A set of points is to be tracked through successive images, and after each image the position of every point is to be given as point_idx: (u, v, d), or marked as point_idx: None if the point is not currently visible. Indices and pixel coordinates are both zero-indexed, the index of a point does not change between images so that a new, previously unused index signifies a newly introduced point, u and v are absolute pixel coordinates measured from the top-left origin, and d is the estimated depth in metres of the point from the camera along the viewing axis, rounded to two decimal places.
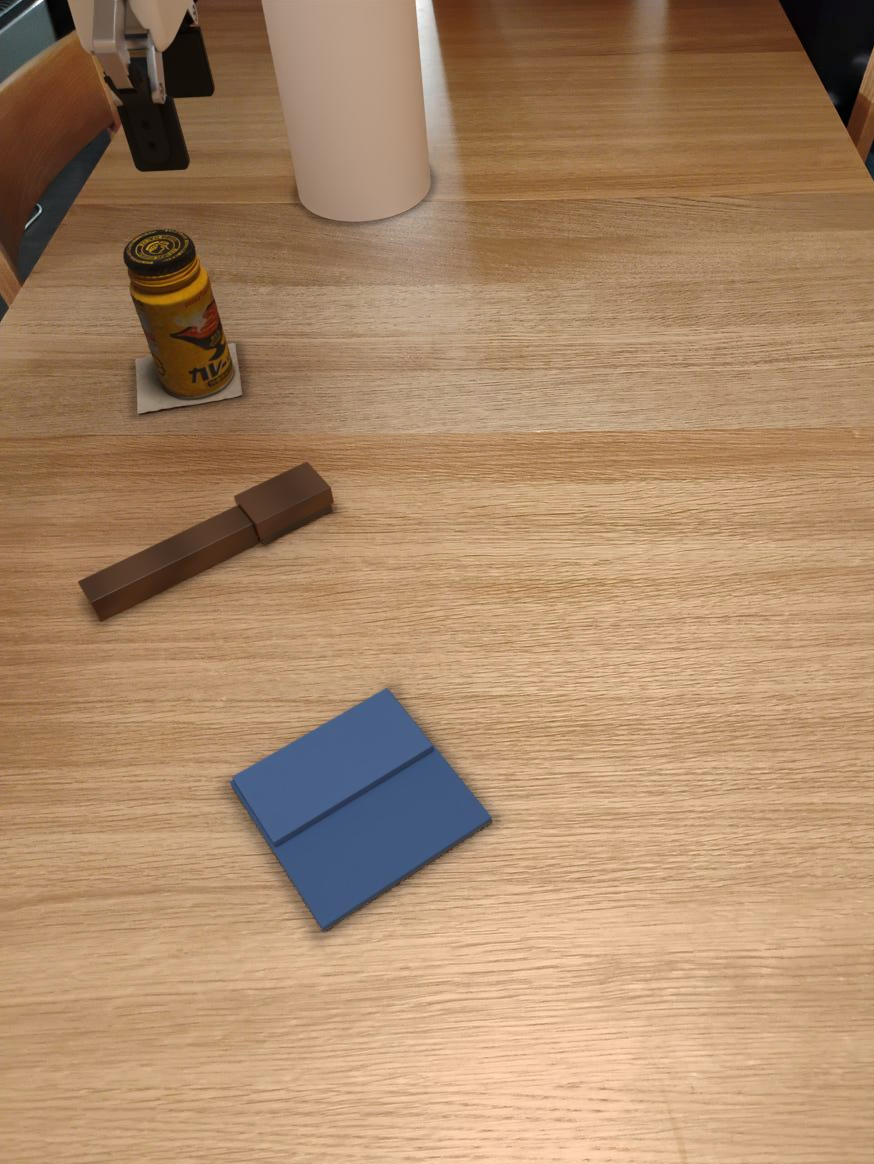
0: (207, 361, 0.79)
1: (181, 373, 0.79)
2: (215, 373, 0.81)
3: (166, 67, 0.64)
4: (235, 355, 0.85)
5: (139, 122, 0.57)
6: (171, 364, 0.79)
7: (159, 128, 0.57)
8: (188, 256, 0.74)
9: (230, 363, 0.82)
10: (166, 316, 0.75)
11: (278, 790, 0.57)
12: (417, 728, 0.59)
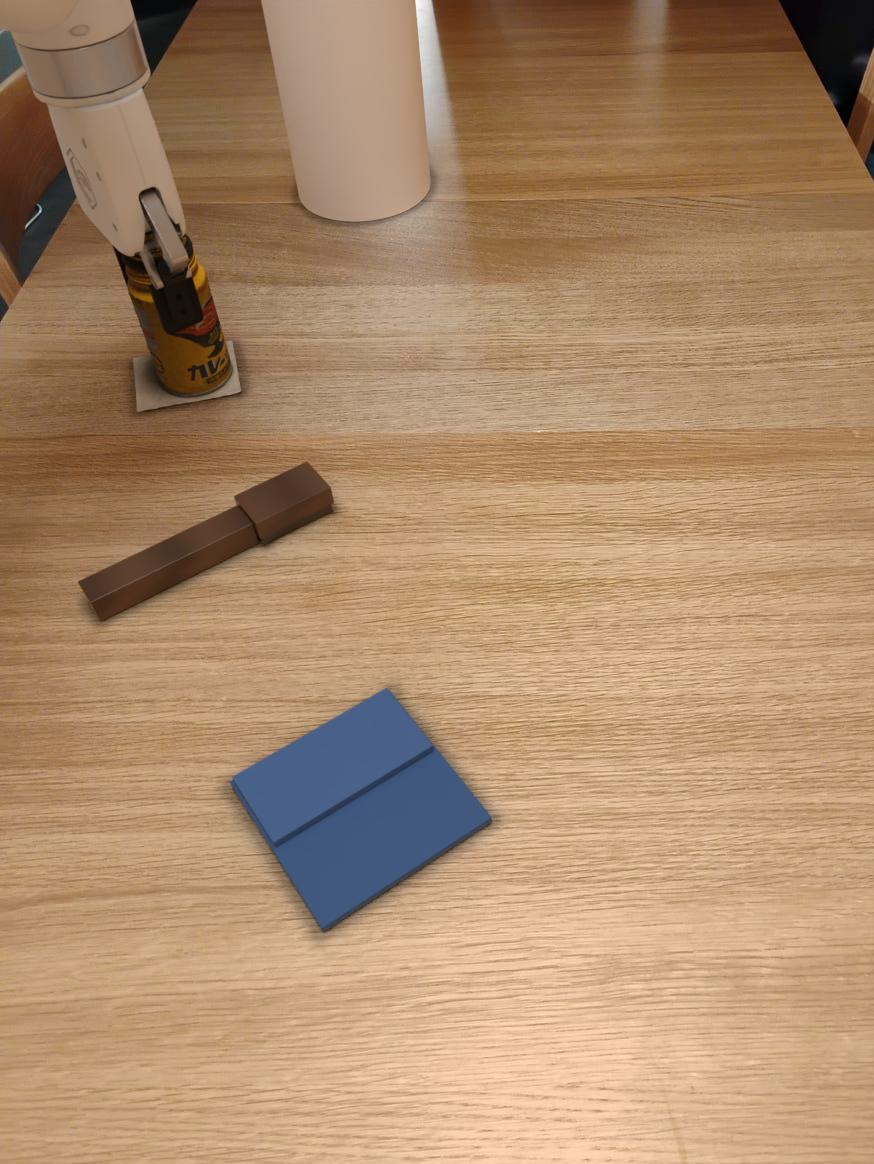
0: (206, 358, 0.80)
1: (180, 370, 0.79)
2: (214, 370, 0.81)
3: None
4: (232, 352, 0.85)
5: (174, 296, 0.73)
6: (170, 362, 0.79)
7: (188, 296, 0.74)
8: None
9: (228, 360, 0.82)
10: None
11: (278, 790, 0.57)
12: (417, 728, 0.59)
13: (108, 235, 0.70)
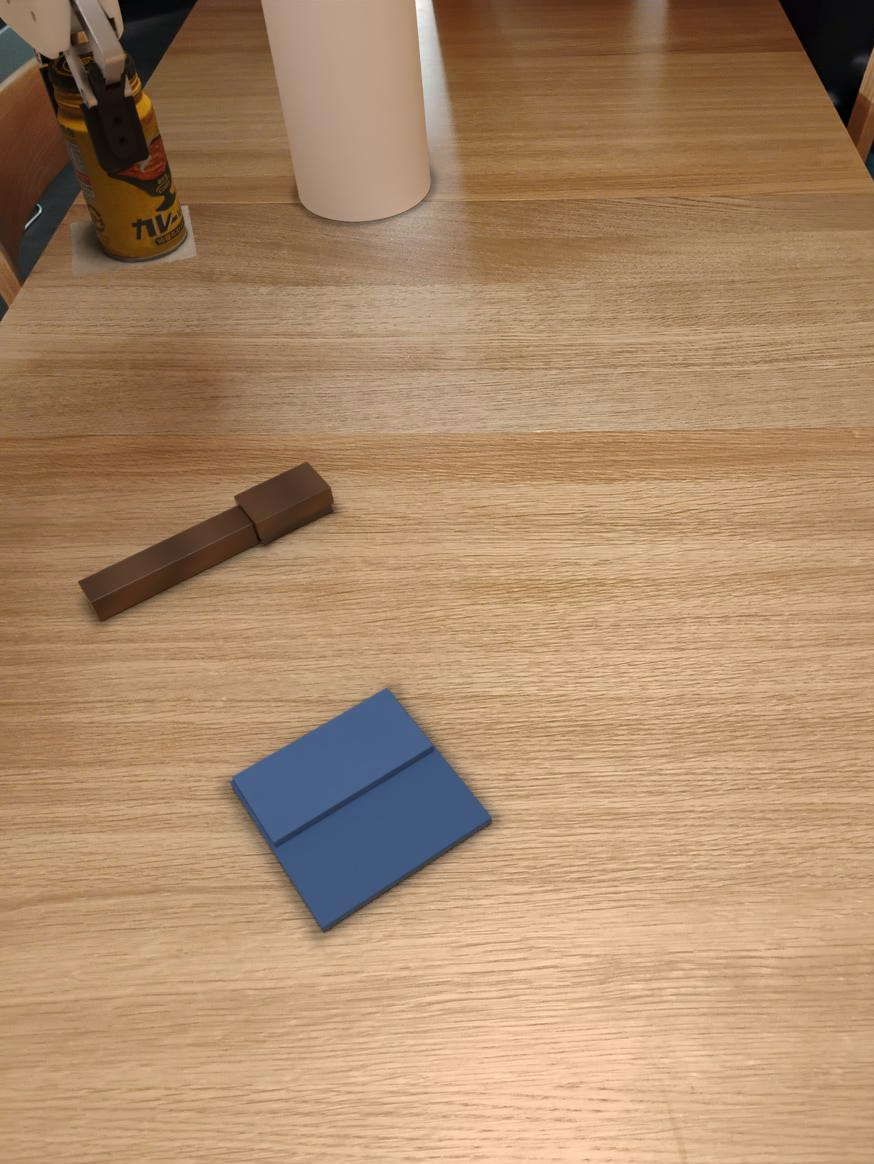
0: (153, 211, 0.67)
1: (123, 225, 0.67)
2: (164, 228, 0.68)
3: None
4: (188, 217, 0.72)
5: (111, 120, 0.60)
6: (111, 214, 0.66)
7: (128, 121, 0.61)
8: (127, 71, 0.61)
9: (182, 220, 0.70)
10: None
11: (278, 790, 0.57)
12: (417, 728, 0.59)
13: (28, 35, 0.57)
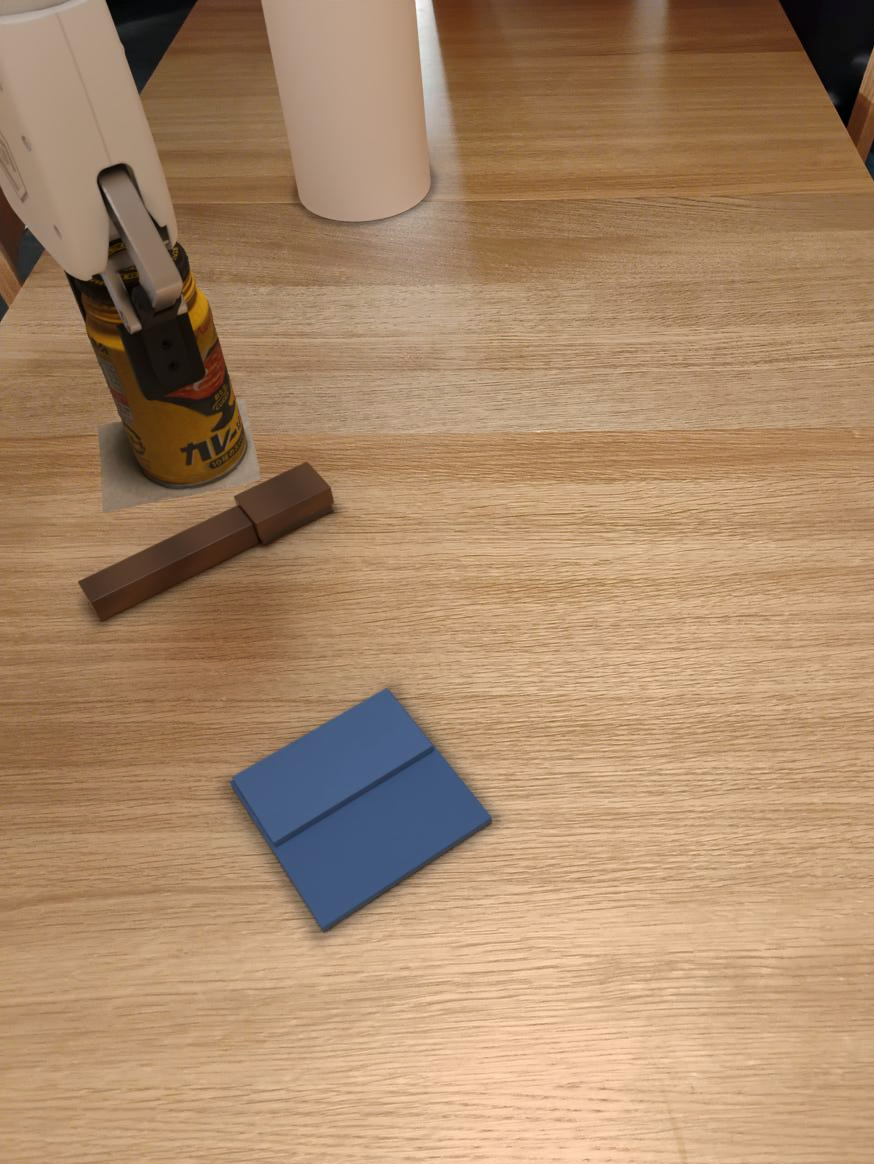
0: (208, 433, 0.52)
1: (169, 451, 0.52)
2: (221, 448, 0.53)
3: None
4: (246, 417, 0.57)
5: (158, 344, 0.45)
6: (154, 439, 0.51)
7: (181, 342, 0.46)
8: (179, 273, 0.46)
9: (242, 432, 0.55)
10: None
11: (278, 790, 0.57)
12: (417, 728, 0.59)
13: (48, 245, 0.42)
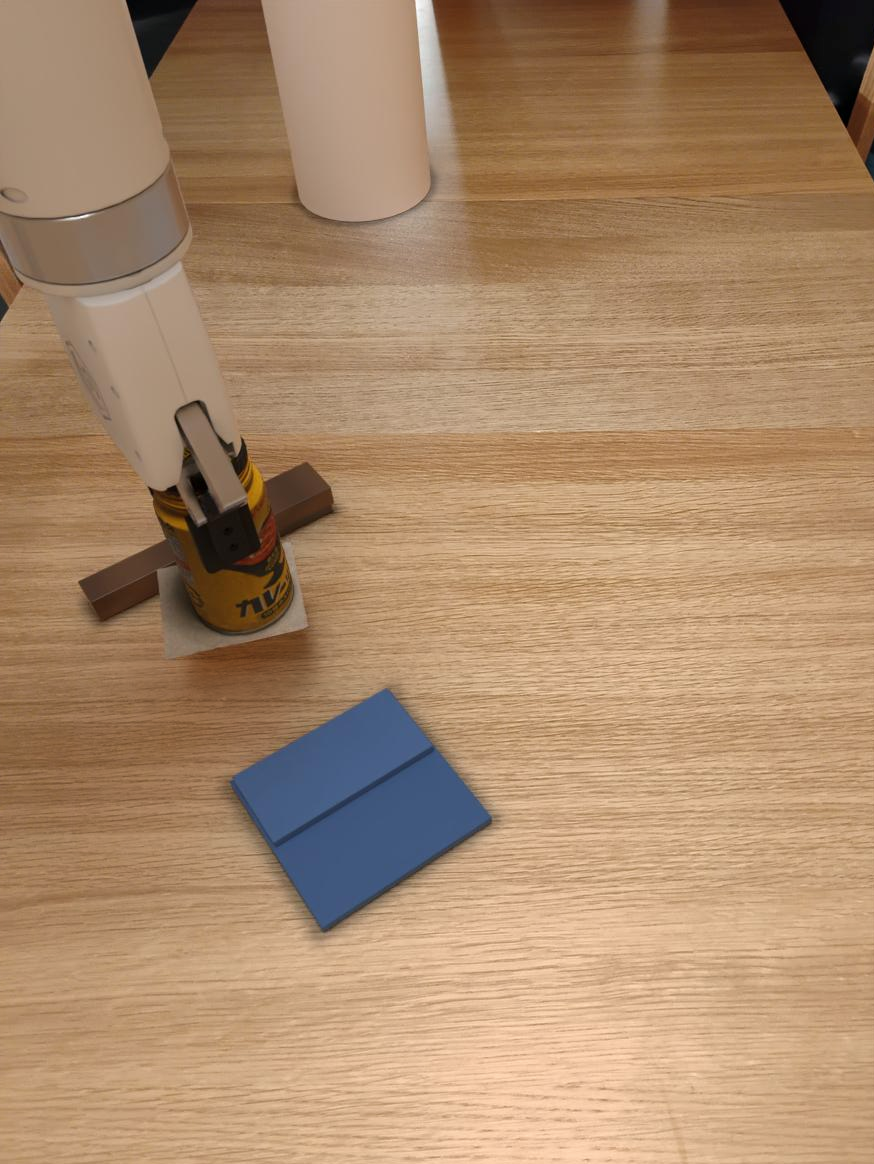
0: (261, 590, 0.57)
1: (225, 607, 0.57)
2: (272, 601, 0.58)
3: None
4: (292, 561, 0.63)
5: (221, 531, 0.51)
6: (212, 597, 0.56)
7: (241, 527, 0.51)
8: (239, 464, 0.51)
9: (290, 581, 0.60)
10: None
11: (278, 790, 0.57)
12: (417, 728, 0.59)
13: (127, 456, 0.47)
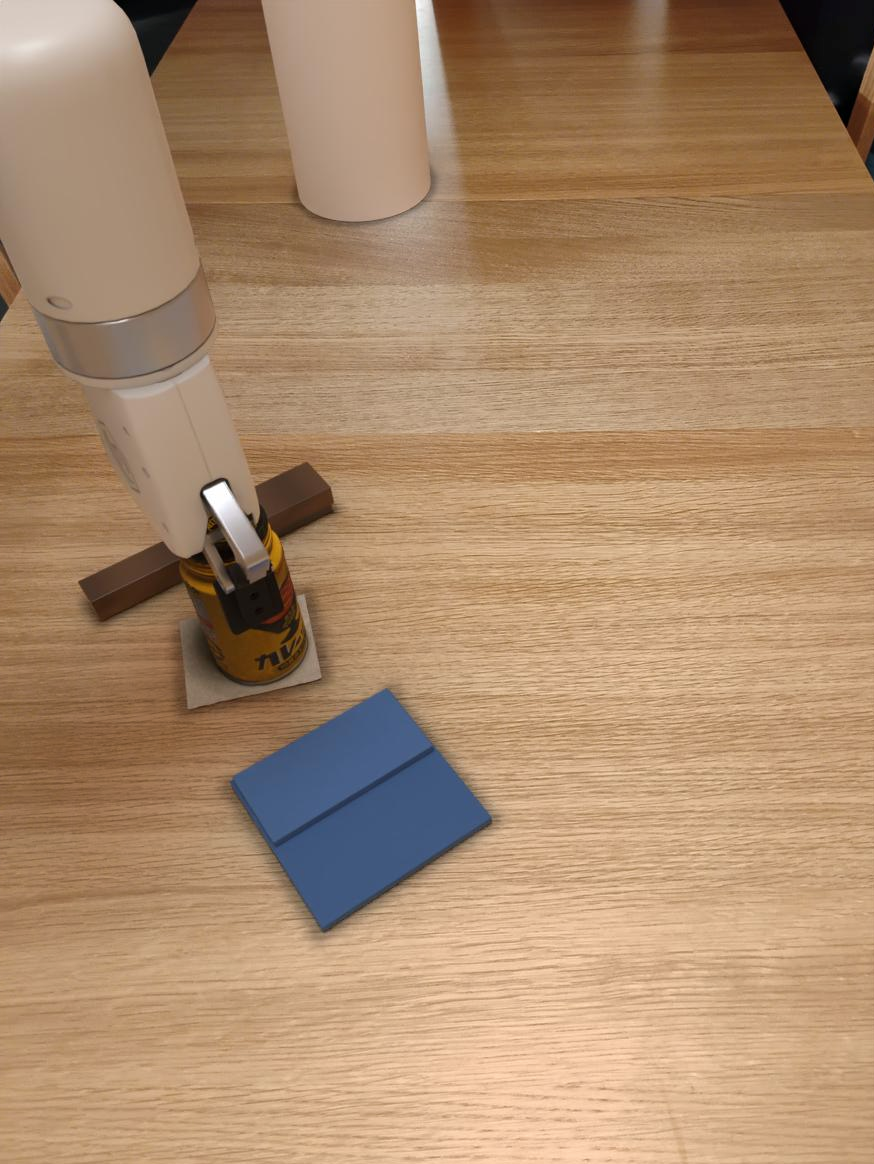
0: (278, 645, 0.61)
1: (245, 661, 0.61)
2: (288, 654, 0.62)
3: None
4: (306, 613, 0.67)
5: (248, 597, 0.53)
6: (233, 652, 0.60)
7: (267, 592, 0.53)
8: (260, 534, 0.55)
9: (304, 634, 0.64)
10: None
11: (278, 790, 0.57)
12: (417, 728, 0.59)
13: (153, 524, 0.51)
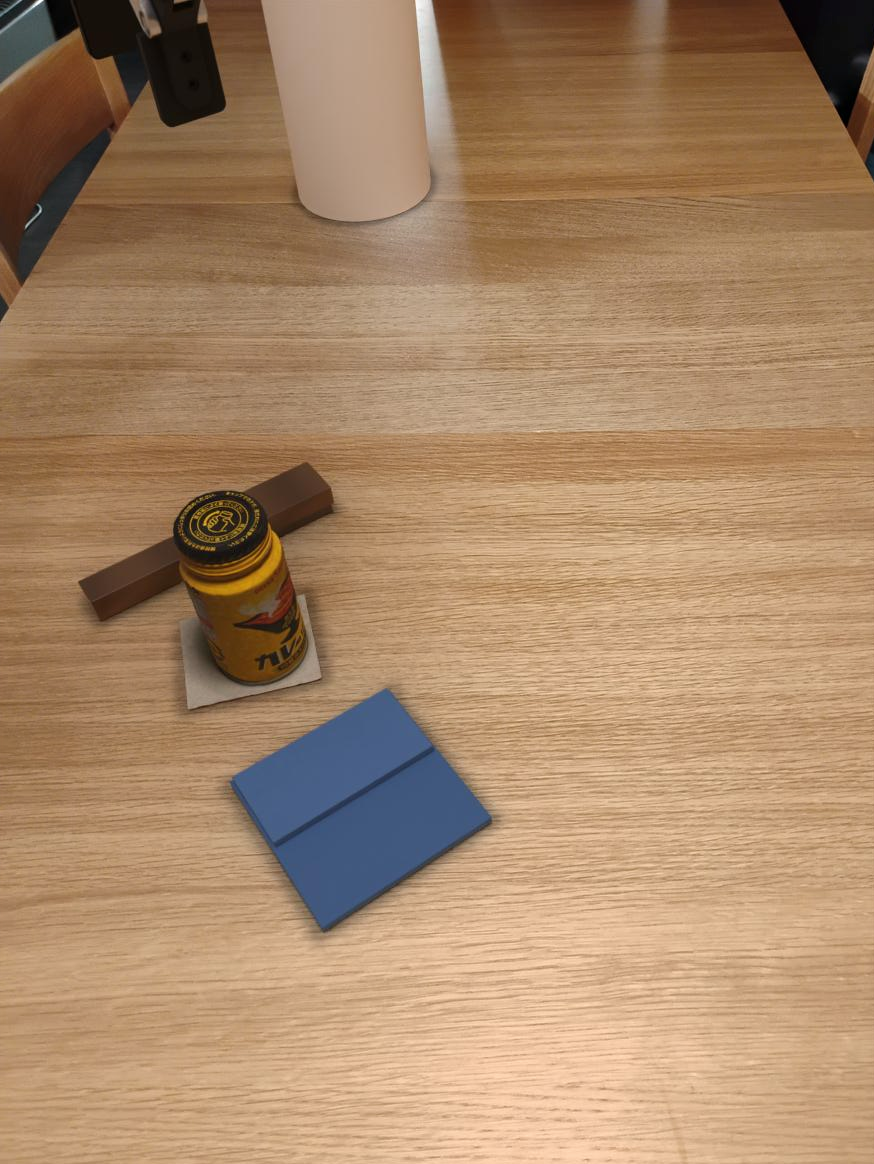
0: (278, 645, 0.61)
1: (245, 661, 0.61)
2: (288, 654, 0.62)
3: (91, 18, 0.51)
4: (306, 613, 0.67)
5: (178, 55, 0.45)
6: (233, 652, 0.60)
7: (201, 57, 0.45)
8: (260, 534, 0.55)
9: (304, 634, 0.64)
10: (229, 606, 0.57)
11: (278, 790, 0.57)
12: (417, 728, 0.59)
13: None
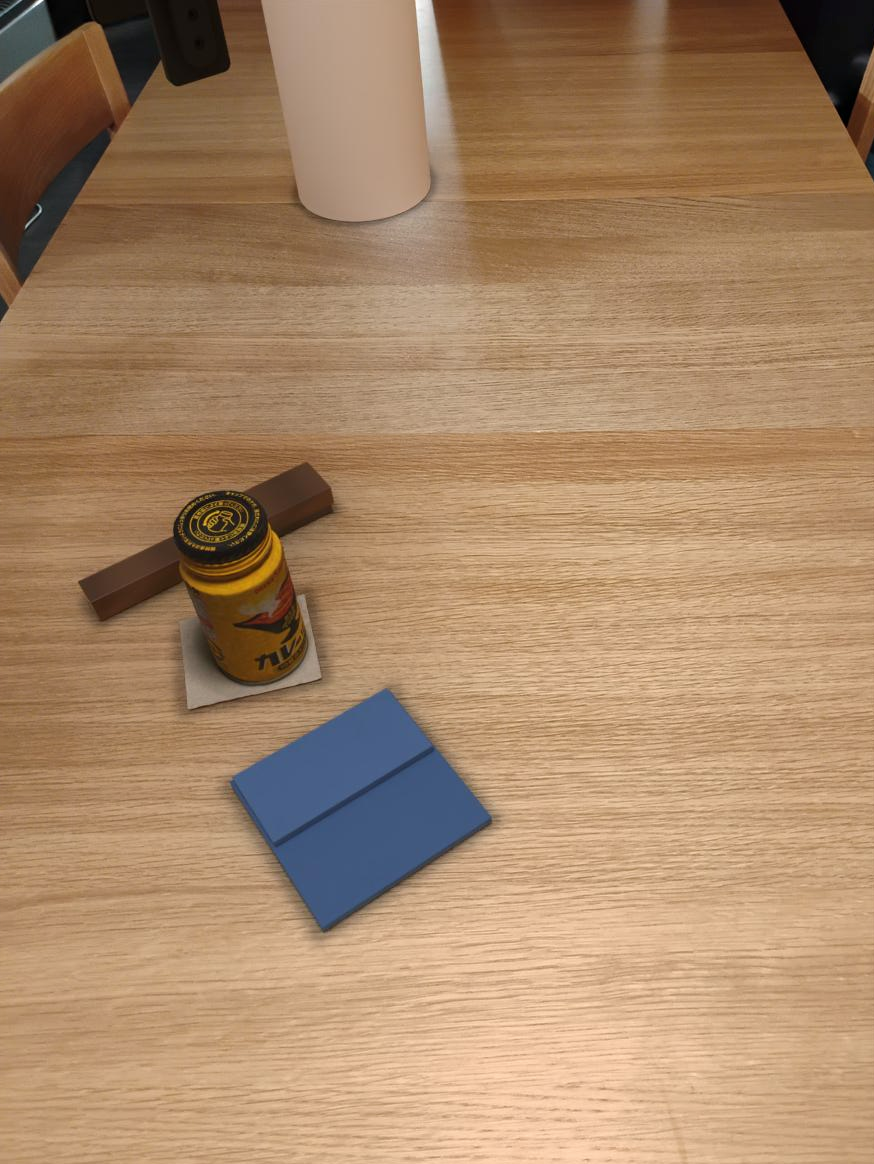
0: (278, 645, 0.61)
1: (245, 661, 0.61)
2: (288, 654, 0.62)
3: None
4: (306, 613, 0.67)
5: (185, 13, 0.46)
6: (233, 652, 0.60)
7: (207, 15, 0.46)
8: (260, 534, 0.55)
9: (304, 634, 0.64)
10: (229, 606, 0.57)
11: (278, 790, 0.57)
12: (417, 728, 0.59)
13: None
